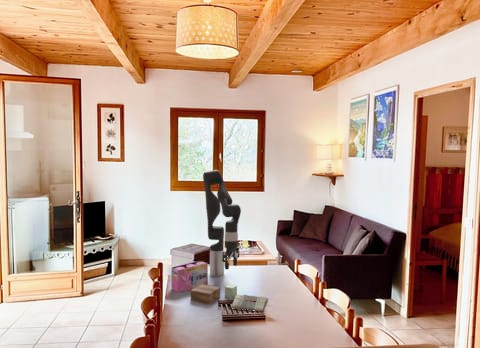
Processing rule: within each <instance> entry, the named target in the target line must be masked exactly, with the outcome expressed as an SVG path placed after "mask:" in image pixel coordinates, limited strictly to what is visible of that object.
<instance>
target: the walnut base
mask: <svg viewBox="0 0 480 348" xmlns="http://www.w3.org/2000/svg"><path fill="white" fill-rule="evenodd" d="M220 297H221V287H219V286H215V285H209V284H206V285H205V284H201V285H200V286H198V287H196V288H192V289H190V301H191V302H195V303H201V304H205V305H211V304H213V302H215V301H216V300H218V299H220Z"/></svg>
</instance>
